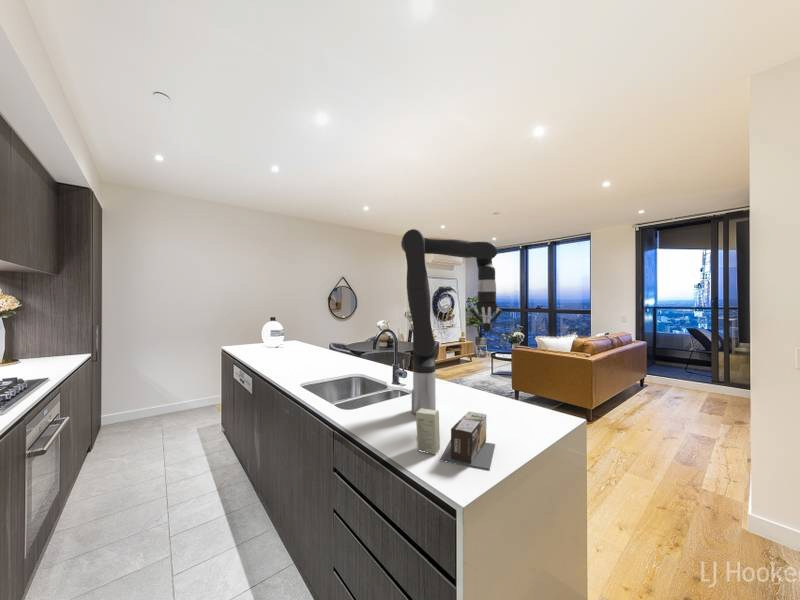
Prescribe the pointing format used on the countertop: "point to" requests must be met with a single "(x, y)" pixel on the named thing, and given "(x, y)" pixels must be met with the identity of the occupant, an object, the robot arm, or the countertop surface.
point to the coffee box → (468, 436)
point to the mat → (479, 461)
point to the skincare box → (428, 430)
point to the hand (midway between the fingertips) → (487, 332)
